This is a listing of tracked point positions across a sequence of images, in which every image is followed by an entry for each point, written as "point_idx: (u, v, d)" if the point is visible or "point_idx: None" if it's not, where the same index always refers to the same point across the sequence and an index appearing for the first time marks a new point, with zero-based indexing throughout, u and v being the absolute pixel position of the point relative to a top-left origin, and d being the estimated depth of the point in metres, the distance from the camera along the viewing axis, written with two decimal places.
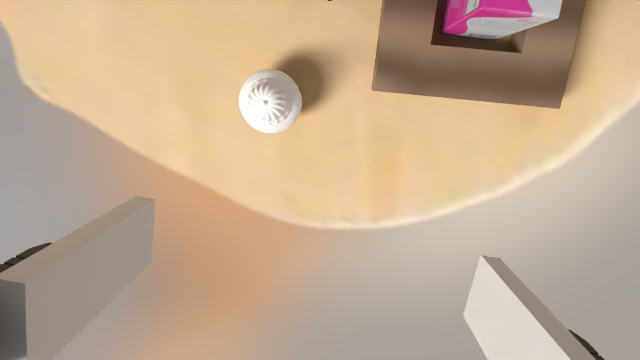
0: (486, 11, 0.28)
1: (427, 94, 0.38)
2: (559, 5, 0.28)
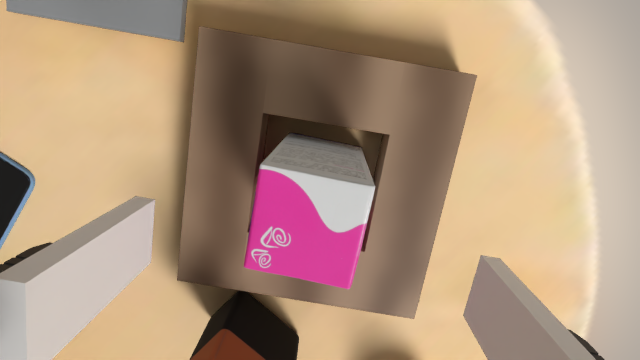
0: None
1: (428, 256, 0.28)
2: (357, 187, 0.18)
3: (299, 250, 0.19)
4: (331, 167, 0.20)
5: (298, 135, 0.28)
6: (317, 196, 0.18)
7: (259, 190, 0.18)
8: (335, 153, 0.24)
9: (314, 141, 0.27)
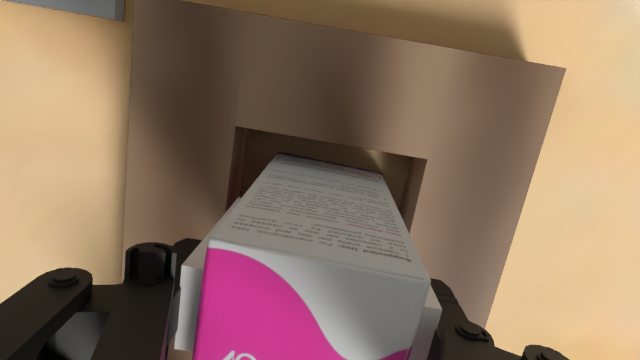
0: None
1: None
2: (397, 283, 0.09)
3: None
4: (344, 232, 0.11)
5: (290, 157, 0.19)
6: (319, 299, 0.10)
7: (208, 286, 0.10)
8: (347, 192, 0.15)
9: (314, 168, 0.18)
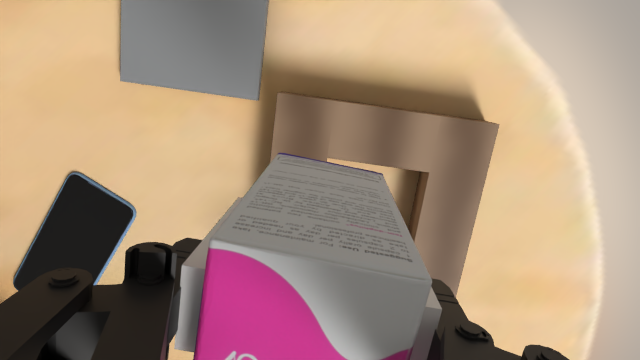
0: None
1: (461, 268, 0.34)
2: (398, 284, 0.09)
3: None
4: (345, 233, 0.11)
5: (291, 157, 0.19)
6: (320, 300, 0.10)
7: (209, 287, 0.10)
8: (348, 193, 0.15)
9: (314, 168, 0.18)
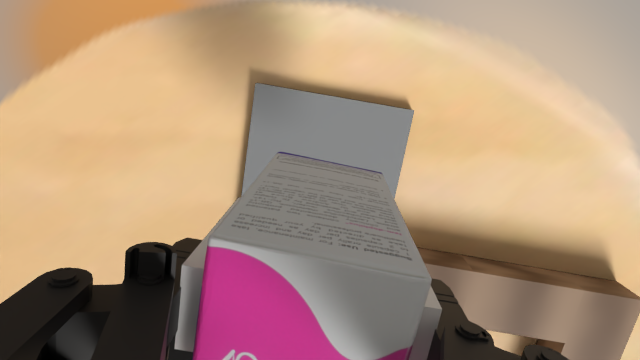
0: None
1: None
2: (397, 282, 0.09)
3: None
4: (344, 231, 0.11)
5: (290, 156, 0.19)
6: (320, 298, 0.10)
7: (208, 285, 0.10)
8: (347, 191, 0.15)
9: (314, 167, 0.18)
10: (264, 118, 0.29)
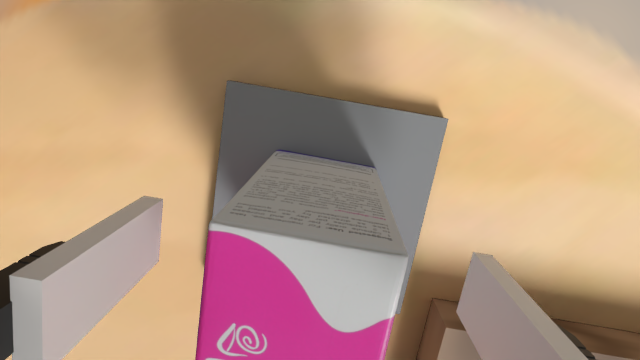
0: None
1: None
2: (377, 259, 0.10)
3: (281, 359, 0.11)
4: (332, 217, 0.12)
5: (288, 153, 0.20)
6: (309, 275, 0.11)
7: (210, 265, 0.11)
8: (339, 183, 0.16)
9: (310, 163, 0.19)
10: (240, 130, 0.21)
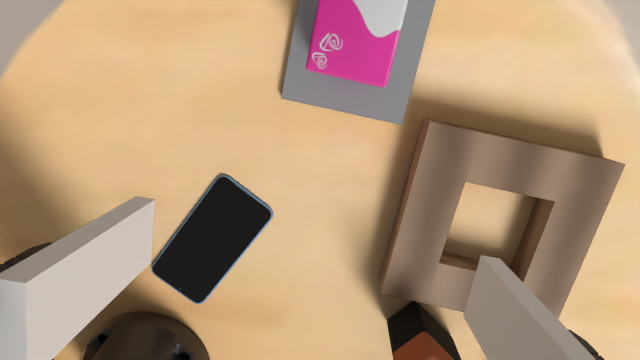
0: (388, 79, 0.26)
1: (570, 287, 0.38)
2: None
3: (348, 52, 0.25)
4: None
5: None
6: (364, 7, 0.24)
7: (320, 2, 0.25)
8: None
9: None
10: None
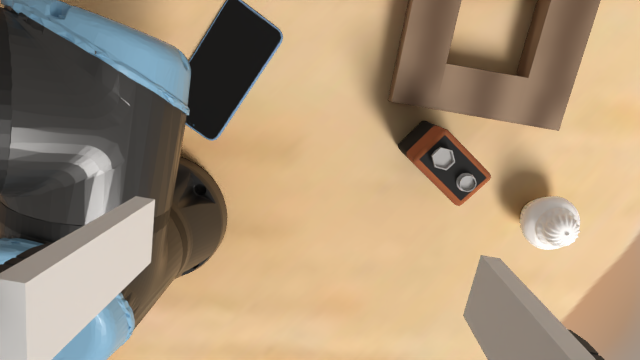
0: None
1: (573, 81, 0.40)
2: None
3: None
4: None
5: None
6: None
7: None
8: None
9: None
10: None
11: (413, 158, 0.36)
